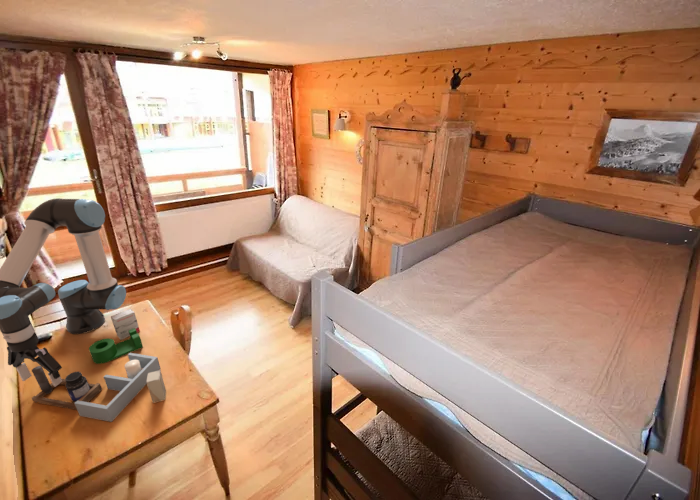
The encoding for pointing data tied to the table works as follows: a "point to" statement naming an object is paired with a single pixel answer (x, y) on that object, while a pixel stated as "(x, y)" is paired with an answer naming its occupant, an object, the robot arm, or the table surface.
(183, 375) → the table surface
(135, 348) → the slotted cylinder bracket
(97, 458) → the table surface
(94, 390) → the wooden frame with peg
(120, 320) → the ink box
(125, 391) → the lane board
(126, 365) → the cream canister
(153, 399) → the box
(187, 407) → the table surface
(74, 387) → the pill bottle
